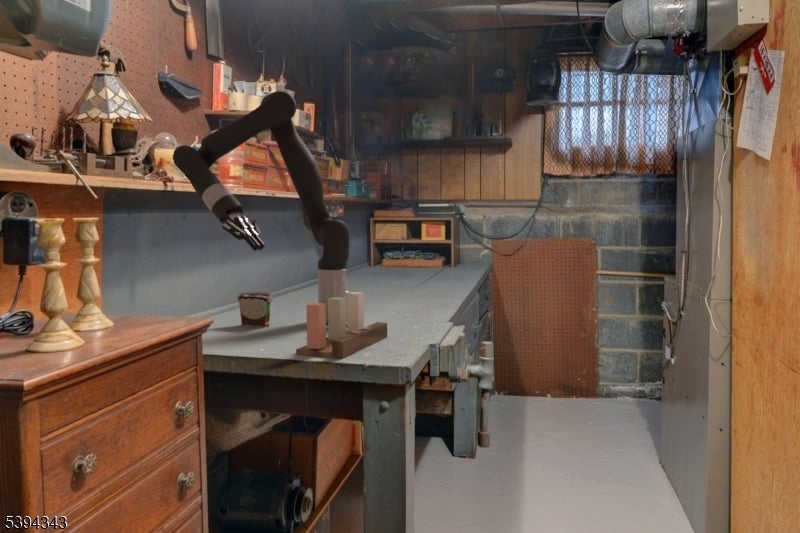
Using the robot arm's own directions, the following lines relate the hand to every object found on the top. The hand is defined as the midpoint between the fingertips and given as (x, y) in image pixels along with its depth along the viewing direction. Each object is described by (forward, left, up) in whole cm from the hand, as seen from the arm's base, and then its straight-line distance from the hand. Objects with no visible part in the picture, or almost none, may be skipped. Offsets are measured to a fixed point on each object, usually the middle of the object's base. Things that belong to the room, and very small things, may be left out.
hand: (260, 248), depth 163 cm
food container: (-13, -22, -26) cm, 37 cm away
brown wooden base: (-13, +20, -26) cm, 35 cm away
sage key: (-12, +18, -24) cm, 32 cm away
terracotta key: (-2, +22, -24) cm, 33 cm away
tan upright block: (-22, +14, -24) cm, 36 cm away
